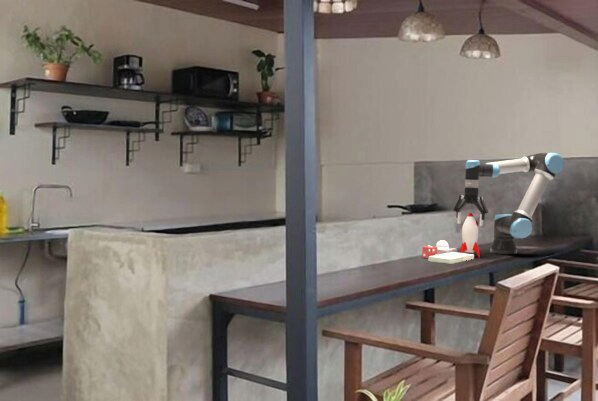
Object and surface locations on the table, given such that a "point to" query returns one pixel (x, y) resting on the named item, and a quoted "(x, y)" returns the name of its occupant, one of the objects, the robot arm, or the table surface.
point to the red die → (428, 251)
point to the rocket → (470, 235)
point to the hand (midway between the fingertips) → (470, 224)
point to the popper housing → (446, 251)
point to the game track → (451, 257)
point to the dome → (442, 245)
